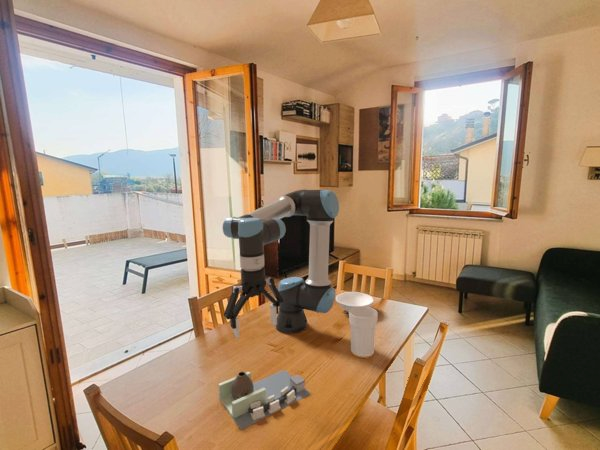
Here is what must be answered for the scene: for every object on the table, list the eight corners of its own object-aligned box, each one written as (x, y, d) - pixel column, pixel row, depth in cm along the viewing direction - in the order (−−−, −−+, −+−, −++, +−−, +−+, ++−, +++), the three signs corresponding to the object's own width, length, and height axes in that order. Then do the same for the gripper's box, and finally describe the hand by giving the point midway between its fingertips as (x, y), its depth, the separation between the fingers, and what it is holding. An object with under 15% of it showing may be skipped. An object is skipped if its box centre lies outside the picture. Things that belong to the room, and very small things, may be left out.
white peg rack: (244, 408, 98) (243, 399, 97) (297, 382, 109) (297, 374, 109) (254, 422, 92) (254, 412, 92) (309, 393, 104) (309, 384, 103)
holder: (219, 397, 102) (218, 383, 102) (249, 384, 109) (248, 371, 108) (234, 419, 93) (233, 404, 92) (266, 403, 99) (266, 389, 99)
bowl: (376, 319, 159) (377, 306, 158) (337, 319, 159) (337, 306, 158) (369, 303, 178) (369, 291, 177) (333, 303, 178) (334, 291, 177)
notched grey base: (246, 409, 96) (246, 406, 96) (296, 385, 107) (296, 382, 107) (252, 418, 93) (252, 414, 93) (304, 392, 104) (304, 388, 104)
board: (218, 400, 102) (218, 398, 102) (284, 372, 117) (284, 369, 117) (241, 433, 90) (240, 429, 89) (311, 396, 104) (311, 393, 104)
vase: (235, 410, 96) (234, 383, 95) (229, 396, 102) (227, 371, 101) (257, 402, 100) (256, 376, 98) (249, 389, 106) (248, 364, 104)
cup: (342, 348, 132) (343, 308, 130) (365, 342, 137) (366, 304, 134) (358, 363, 122) (359, 320, 119) (382, 356, 126) (383, 314, 124)
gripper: (219, 279, 90) (224, 348, 94) (292, 262, 104) (294, 322, 108) (209, 272, 96) (214, 337, 100) (279, 257, 110) (282, 314, 114)
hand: (256, 329), depth 104 cm, fingers open, 13 cm apart
